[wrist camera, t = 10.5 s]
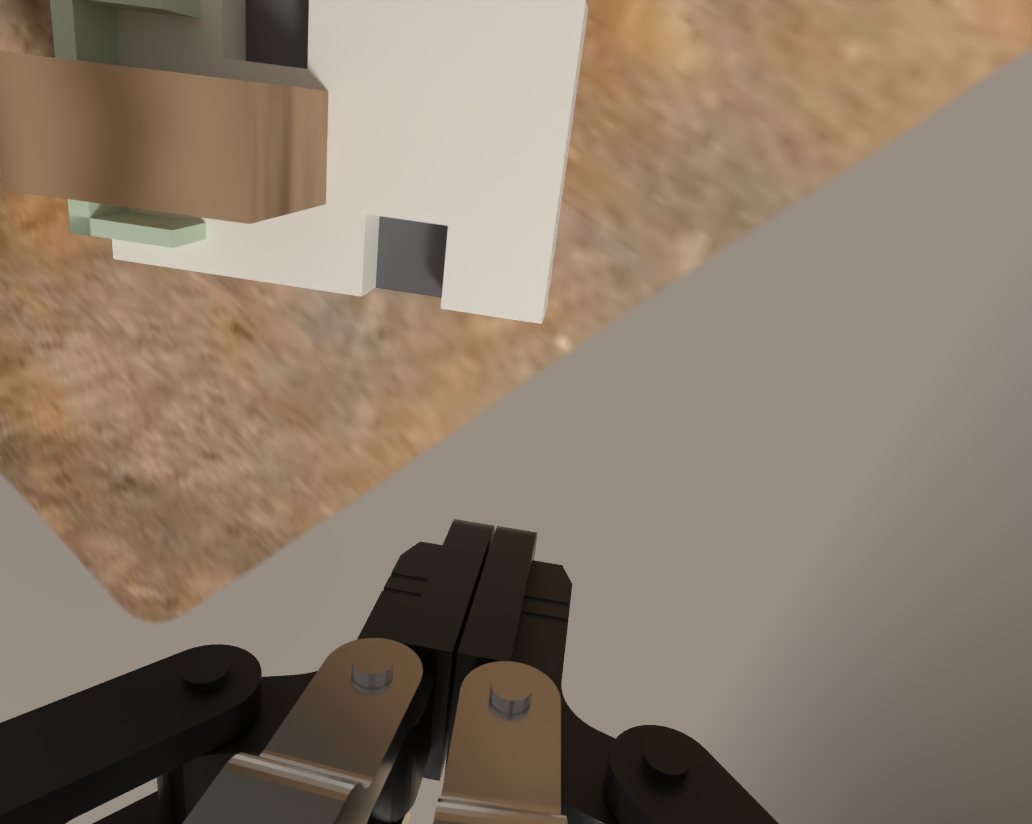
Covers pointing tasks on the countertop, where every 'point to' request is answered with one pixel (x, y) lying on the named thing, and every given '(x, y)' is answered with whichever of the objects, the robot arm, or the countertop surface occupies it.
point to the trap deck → (371, 139)
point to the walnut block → (161, 139)
